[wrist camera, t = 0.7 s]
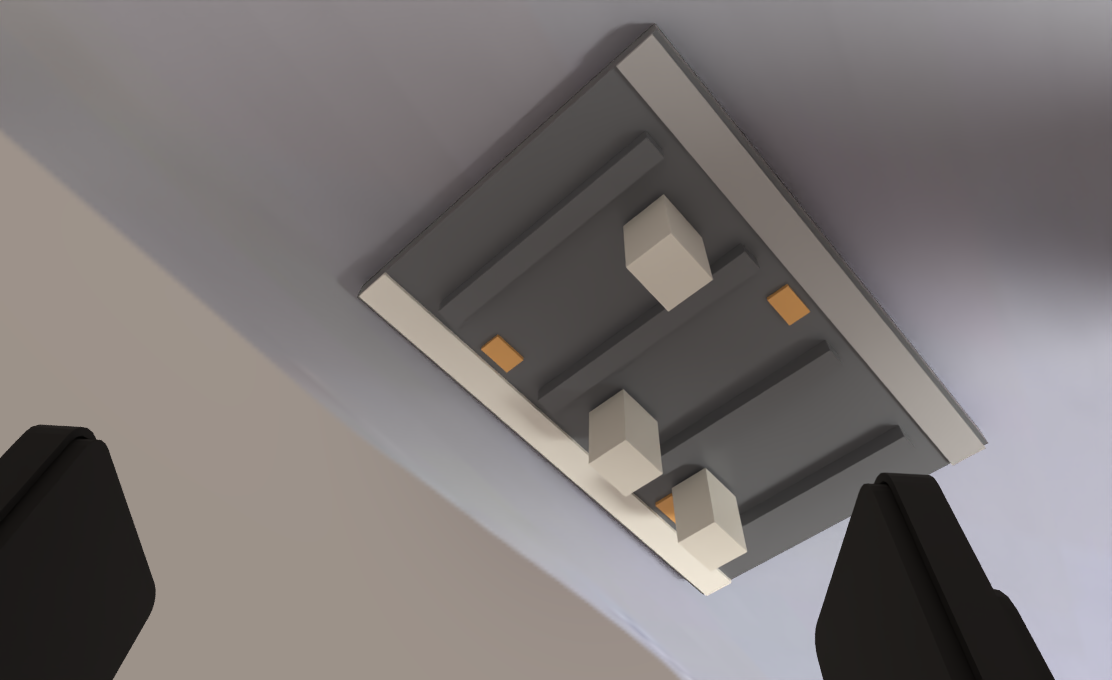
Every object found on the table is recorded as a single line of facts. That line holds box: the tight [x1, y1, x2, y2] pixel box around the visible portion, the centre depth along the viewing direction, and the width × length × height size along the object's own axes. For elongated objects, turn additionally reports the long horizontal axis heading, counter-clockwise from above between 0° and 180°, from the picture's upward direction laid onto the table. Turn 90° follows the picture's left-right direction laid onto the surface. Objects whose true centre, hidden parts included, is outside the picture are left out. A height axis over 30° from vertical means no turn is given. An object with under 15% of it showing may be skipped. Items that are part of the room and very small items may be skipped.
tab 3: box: [672, 468, 747, 572], centre depth 37 cm, size 2×2×4 cm
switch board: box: [357, 24, 988, 596], centre depth 35 cm, size 24×16×2 cm, turn 42°
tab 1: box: [589, 389, 663, 497], centre depth 35 cm, size 2×2×4 cm
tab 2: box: [623, 194, 713, 312], centre depth 30 cm, size 2×2×4 cm
